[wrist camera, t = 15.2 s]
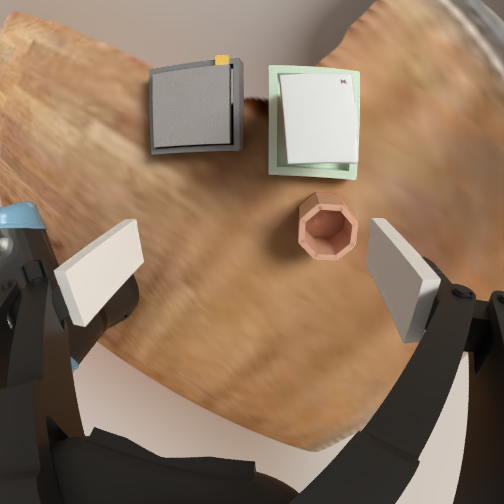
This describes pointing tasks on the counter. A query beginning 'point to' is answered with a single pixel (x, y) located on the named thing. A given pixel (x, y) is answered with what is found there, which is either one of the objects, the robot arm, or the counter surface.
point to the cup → (326, 226)
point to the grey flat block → (238, 100)
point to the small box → (319, 118)
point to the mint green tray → (277, 128)
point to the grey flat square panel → (192, 106)
